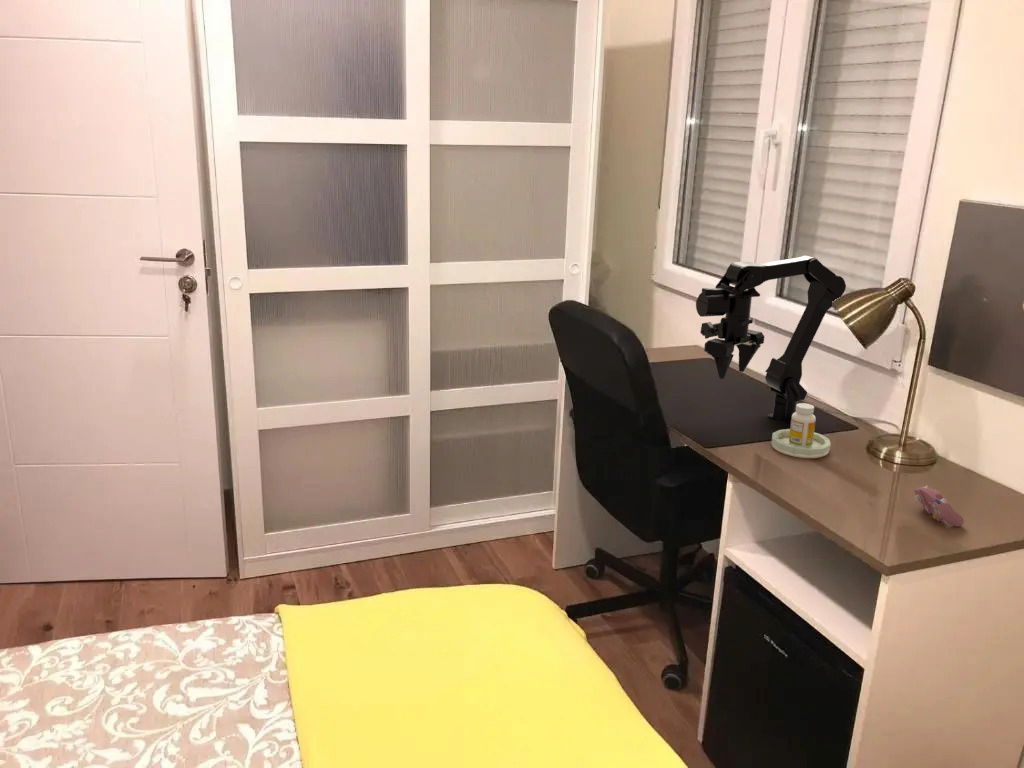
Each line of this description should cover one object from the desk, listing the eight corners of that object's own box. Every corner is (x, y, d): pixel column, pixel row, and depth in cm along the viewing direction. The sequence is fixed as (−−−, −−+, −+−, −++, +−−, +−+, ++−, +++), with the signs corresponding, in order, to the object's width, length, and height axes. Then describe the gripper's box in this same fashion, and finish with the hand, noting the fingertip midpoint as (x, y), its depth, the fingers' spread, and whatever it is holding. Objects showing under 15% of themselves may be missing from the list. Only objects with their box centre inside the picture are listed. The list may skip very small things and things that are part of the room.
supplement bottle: (809, 440, 199) (814, 402, 196) (814, 449, 193) (820, 410, 190) (786, 439, 199) (791, 401, 196) (791, 447, 194) (796, 409, 191)
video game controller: (917, 512, 168) (907, 484, 166) (937, 503, 168) (928, 475, 165) (945, 536, 159) (934, 507, 156) (967, 525, 158) (957, 496, 156)
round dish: (788, 433, 205) (789, 425, 204) (838, 448, 196) (840, 439, 196) (761, 446, 197) (762, 438, 196) (812, 462, 188) (813, 453, 187)
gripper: (729, 303, 214) (723, 361, 219) (688, 314, 202) (683, 375, 207) (768, 311, 207) (761, 370, 211) (728, 322, 194) (722, 385, 199)
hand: (731, 375), depth 207 cm, fingers open, 9 cm apart
